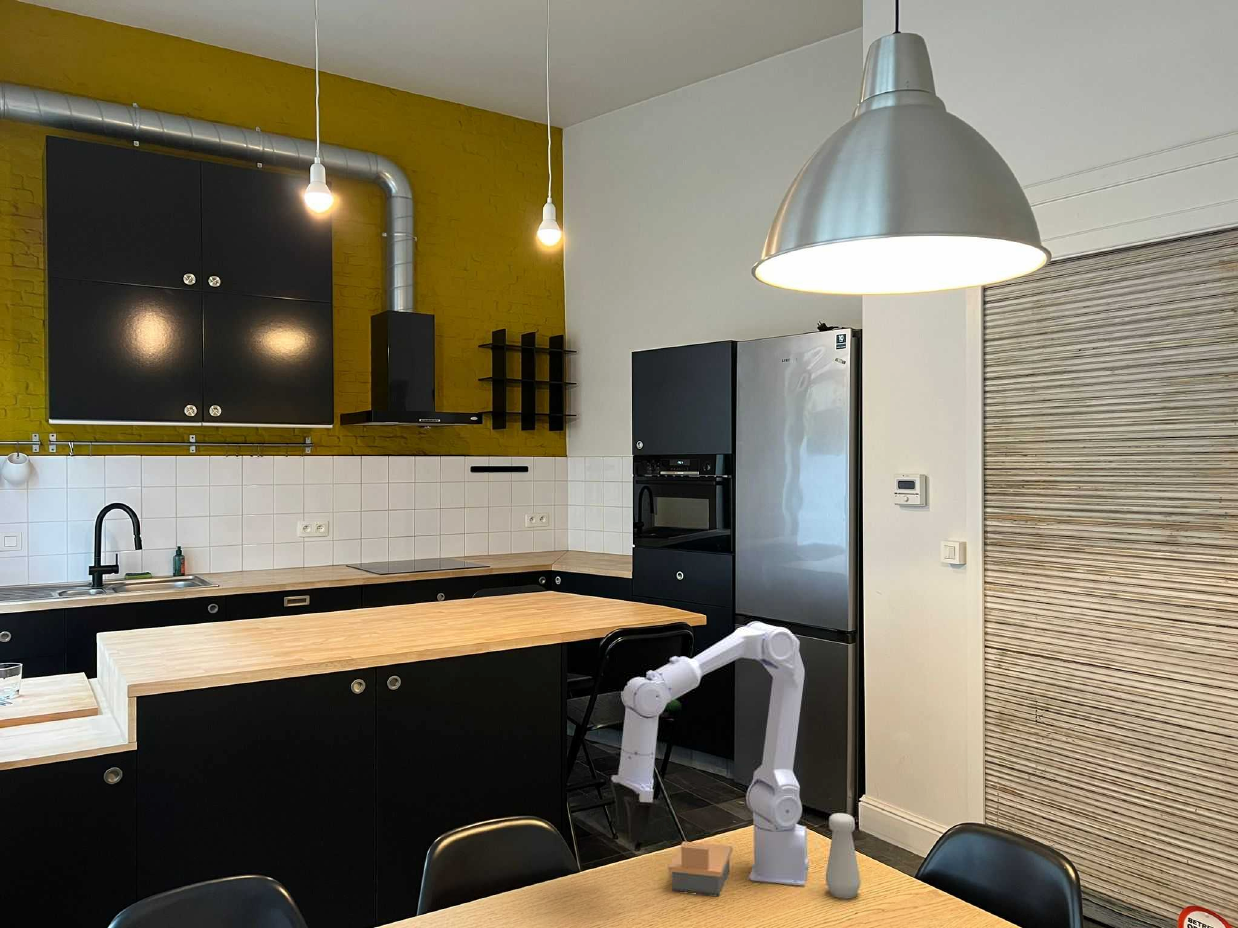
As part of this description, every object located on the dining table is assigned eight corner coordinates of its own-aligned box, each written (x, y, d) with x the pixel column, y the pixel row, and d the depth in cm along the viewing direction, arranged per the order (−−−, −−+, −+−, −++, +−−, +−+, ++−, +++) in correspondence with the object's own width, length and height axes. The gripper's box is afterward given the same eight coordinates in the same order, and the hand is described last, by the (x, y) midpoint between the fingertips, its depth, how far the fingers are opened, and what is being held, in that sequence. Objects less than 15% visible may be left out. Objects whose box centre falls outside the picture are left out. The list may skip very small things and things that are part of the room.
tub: (729, 871, 165) (729, 851, 166) (718, 896, 155) (718, 875, 155) (685, 866, 168) (685, 846, 168) (672, 891, 157) (672, 870, 157)
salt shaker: (861, 902, 152) (860, 822, 153) (826, 899, 153) (824, 820, 154) (859, 887, 158) (858, 810, 158) (825, 885, 159) (824, 808, 160)
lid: (732, 854, 166) (732, 826, 166) (721, 881, 154) (720, 851, 155) (683, 850, 168) (682, 822, 169) (668, 875, 157) (668, 846, 157)
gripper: (605, 739, 162) (597, 818, 161) (626, 760, 148) (617, 848, 146) (643, 741, 163) (635, 820, 162) (668, 762, 149) (660, 848, 148)
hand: (630, 833), depth 154 cm, fingers open, 7 cm apart
